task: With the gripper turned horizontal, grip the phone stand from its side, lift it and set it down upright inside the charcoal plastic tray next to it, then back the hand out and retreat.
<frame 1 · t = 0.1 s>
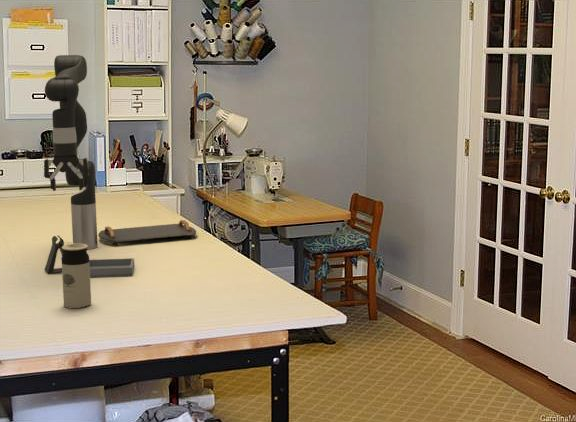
hand: (67, 190, 305), 29 cm above the table, tool pointing down, fingers open, 8 cm apart
tray: (108, 272, 315), on the table
travel mug: (77, 305, 276), on the table
phone stand: (59, 271, 317), on the table
serving board: (147, 239, 371), on the table
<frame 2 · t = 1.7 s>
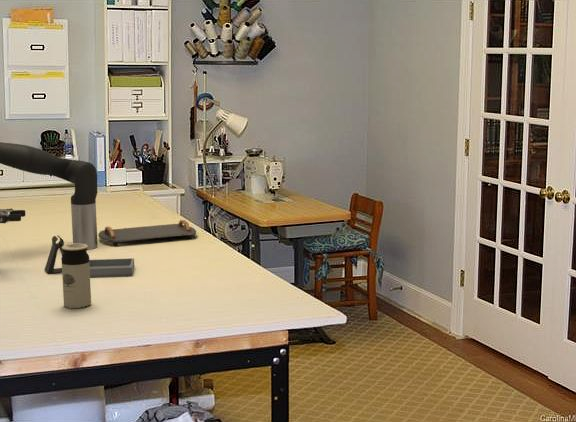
hand: (23, 215, 313), 20 cm above the table, tool horizontal, fingers open, 8 cm apart
nothing on the table moved.
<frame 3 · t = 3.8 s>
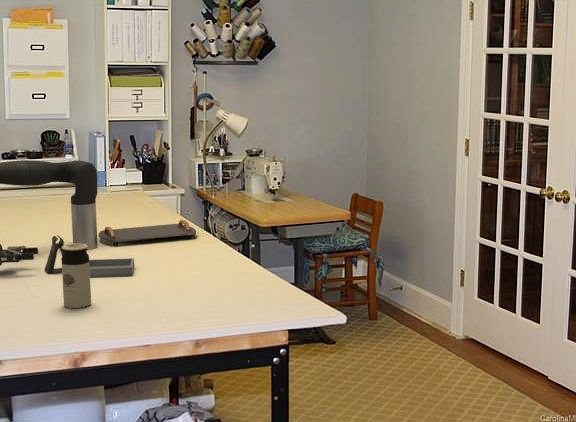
hand: (35, 253, 316), 6 cm above the table, tool horizontal, fingers open, 8 cm apart
nothing on the table moved.
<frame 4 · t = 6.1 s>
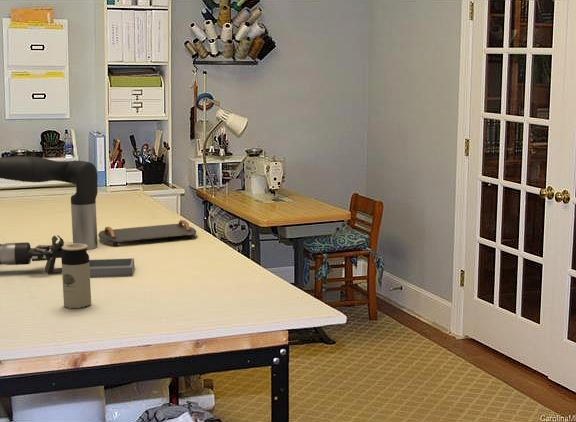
hand: (65, 252, 317), 7 cm above the table, tool horizontal, fingers closed on phone stand, 6 cm apart
phone stand: (59, 271, 317), on the table, touching gripper
everything else where it was.
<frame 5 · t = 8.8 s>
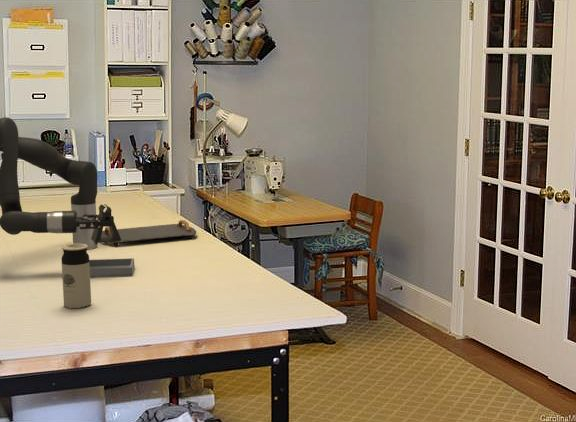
hand: (112, 221, 312), 18 cm above the table, tool horizontal, fingers closed on phone stand, 6 cm apart
phone stand: (106, 240, 313), point 11 cm above the table, touching gripper
everything else where it was.
when the fingers open (8 cm above the table, at t = 11.5 s): phone stand moves 1 cm, resting on tray.
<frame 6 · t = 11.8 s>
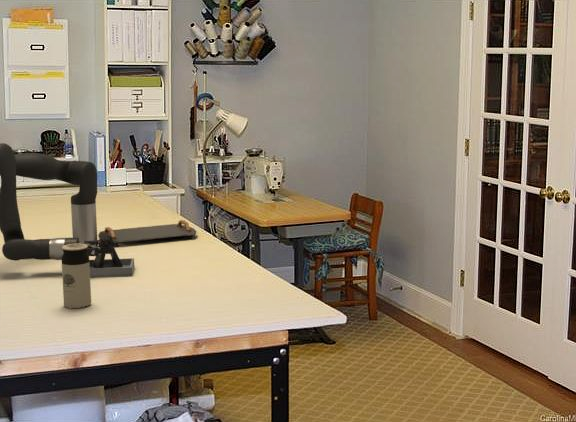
hand: (113, 247, 314), 8 cm above the table, tool horizontal, fingers open, 8 cm apart
phone stand: (108, 268, 316), point 1 cm above the table, touching gripper, tray
everything else where it was.
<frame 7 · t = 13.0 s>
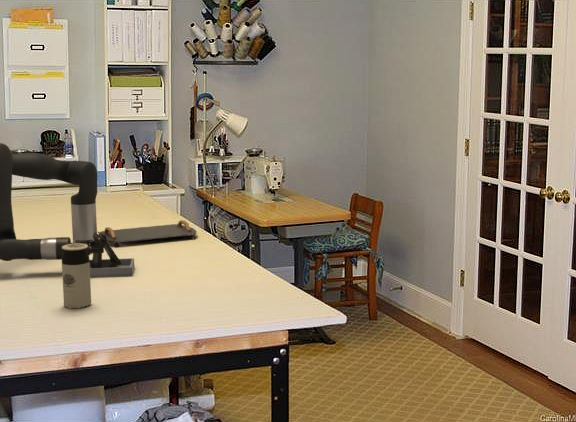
hand: (104, 247, 314), 9 cm above the table, tool horizontal, fingers open, 8 cm apart
phone stand: (106, 267, 316), point 1 cm above the table, touching tray
everything else where it was.
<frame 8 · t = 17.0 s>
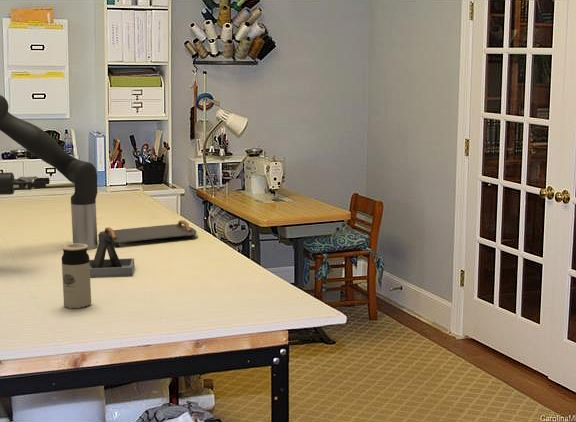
hand: (47, 182, 317), 30 cm above the table, tool horizontal, fingers open, 8 cm apart
at the end: phone stand inside the target area on the tray (1.7 cm from its centre), point 0.6 cm above the tray's base; phone stand tilted 0°; the gripper is holding nothing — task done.
